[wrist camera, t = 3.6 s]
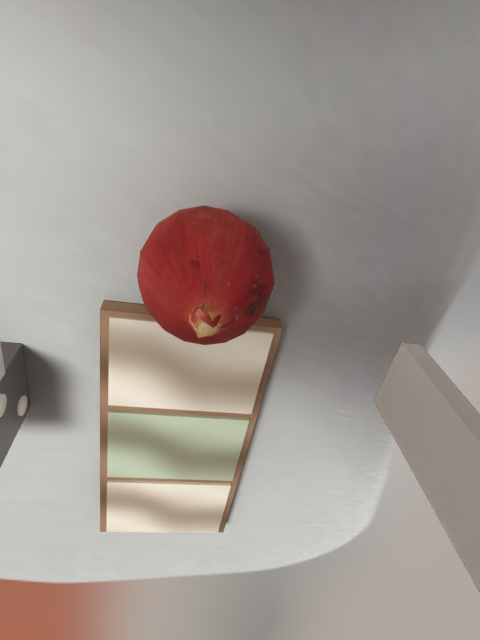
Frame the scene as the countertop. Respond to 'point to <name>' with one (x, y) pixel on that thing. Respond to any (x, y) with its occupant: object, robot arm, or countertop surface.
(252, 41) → the countertop surface
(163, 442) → the board
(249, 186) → the countertop surface
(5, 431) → the die
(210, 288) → the onion
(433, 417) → the robot arm
